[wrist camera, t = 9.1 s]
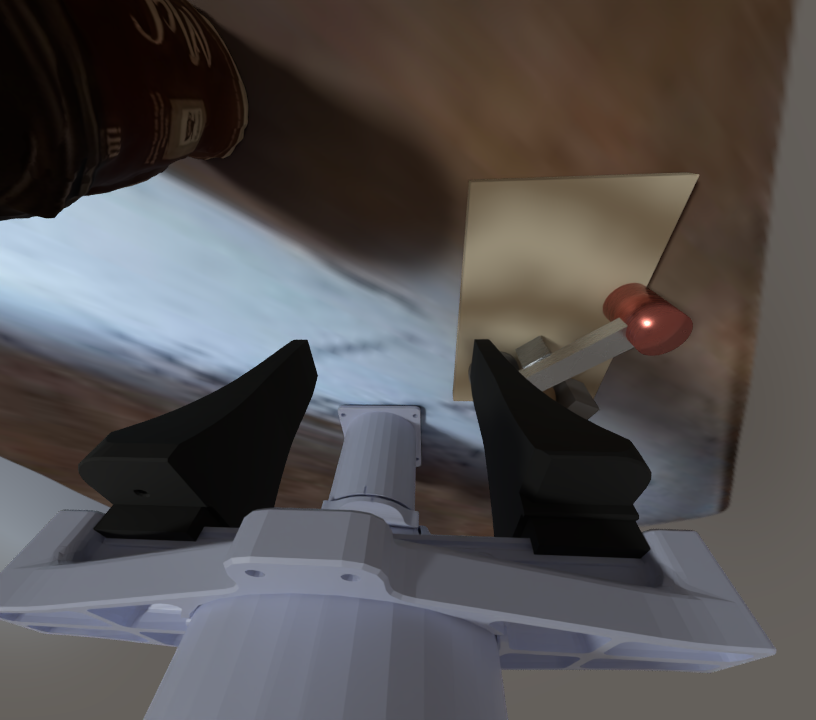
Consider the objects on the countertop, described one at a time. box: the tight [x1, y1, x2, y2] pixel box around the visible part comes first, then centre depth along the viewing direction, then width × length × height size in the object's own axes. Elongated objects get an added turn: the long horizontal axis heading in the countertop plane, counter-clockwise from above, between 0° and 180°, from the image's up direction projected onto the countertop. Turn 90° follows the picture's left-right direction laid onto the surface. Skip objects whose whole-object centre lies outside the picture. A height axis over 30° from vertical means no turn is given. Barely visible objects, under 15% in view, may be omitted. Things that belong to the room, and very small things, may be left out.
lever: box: [515, 283, 693, 391], centre depth 21 cm, size 13×3×4 cm, turn 131°
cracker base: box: [453, 173, 699, 420], centre depth 21 cm, size 18×12×4 cm, turn 2°
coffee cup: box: [0, 0, 248, 221], centre depth 10 cm, size 9×8×13 cm
